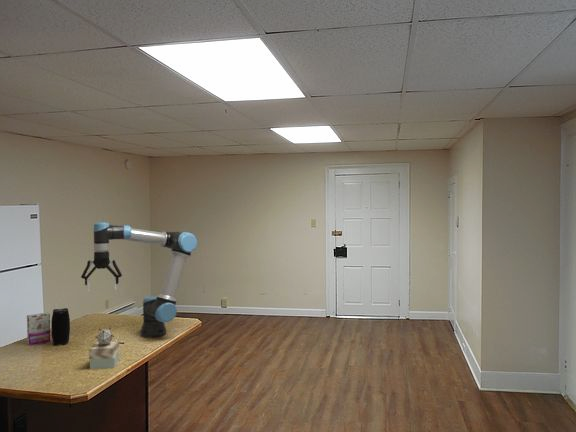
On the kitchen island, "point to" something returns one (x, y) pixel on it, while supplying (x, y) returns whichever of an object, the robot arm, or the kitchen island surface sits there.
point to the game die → (104, 336)
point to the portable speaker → (60, 326)
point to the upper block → (104, 350)
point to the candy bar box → (38, 328)
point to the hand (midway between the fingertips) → (102, 290)
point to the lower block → (103, 363)
